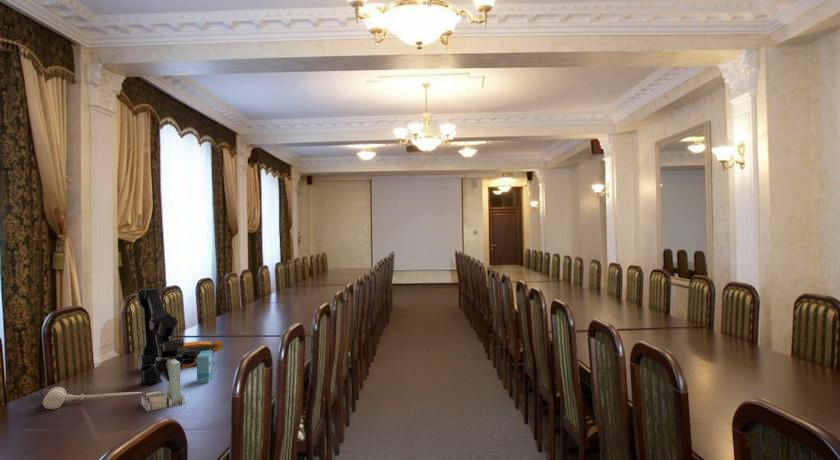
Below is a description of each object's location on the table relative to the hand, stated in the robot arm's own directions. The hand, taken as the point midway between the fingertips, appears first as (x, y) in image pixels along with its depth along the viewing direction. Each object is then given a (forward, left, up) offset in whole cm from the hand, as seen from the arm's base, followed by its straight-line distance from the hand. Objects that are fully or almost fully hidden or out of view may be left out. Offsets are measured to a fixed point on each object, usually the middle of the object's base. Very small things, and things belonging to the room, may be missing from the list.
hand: (172, 379), depth 188 cm
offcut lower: (-3, -5, -8) cm, 9 cm away
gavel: (-30, -1, -9) cm, 32 cm away
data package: (-6, +28, -9) cm, 30 cm away
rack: (-2, -3, -9) cm, 9 cm away
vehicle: (-32, +52, -9) cm, 61 cm away
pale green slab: (0, 0, -6) cm, 6 cm away
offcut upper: (-3, -5, -6) cm, 8 cm away
